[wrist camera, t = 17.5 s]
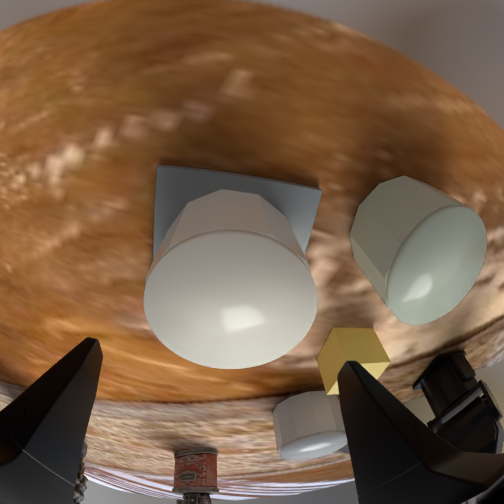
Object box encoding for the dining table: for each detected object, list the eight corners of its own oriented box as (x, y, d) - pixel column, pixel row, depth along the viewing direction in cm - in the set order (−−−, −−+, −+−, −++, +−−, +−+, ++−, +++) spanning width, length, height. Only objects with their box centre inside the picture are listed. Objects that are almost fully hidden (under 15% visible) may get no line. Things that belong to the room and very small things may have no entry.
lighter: (208, 446, 31) (208, 506, 23) (222, 451, 33) (224, 508, 24) (169, 452, 33) (166, 505, 24) (184, 458, 35) (182, 508, 26)
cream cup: (277, 307, 18) (291, 371, 14) (166, 295, 17) (149, 359, 12) (306, 202, 15) (341, 249, 10) (171, 183, 14) (140, 223, 9)
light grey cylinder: (323, 419, 29) (332, 455, 24) (266, 422, 28) (271, 462, 23) (347, 388, 26) (361, 430, 21) (283, 392, 25) (291, 439, 20)
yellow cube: (353, 358, 23) (367, 391, 20) (316, 358, 23) (326, 394, 19) (372, 327, 21) (390, 361, 18) (332, 326, 21) (348, 364, 17)
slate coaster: (283, 310, 19) (284, 316, 19) (156, 296, 18) (154, 302, 17) (319, 187, 15) (322, 190, 15) (159, 164, 14) (157, 166, 13)
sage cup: (414, 278, 19) (451, 323, 14) (336, 270, 18) (368, 326, 13) (449, 192, 16) (500, 223, 11) (370, 164, 15) (425, 192, 10)
